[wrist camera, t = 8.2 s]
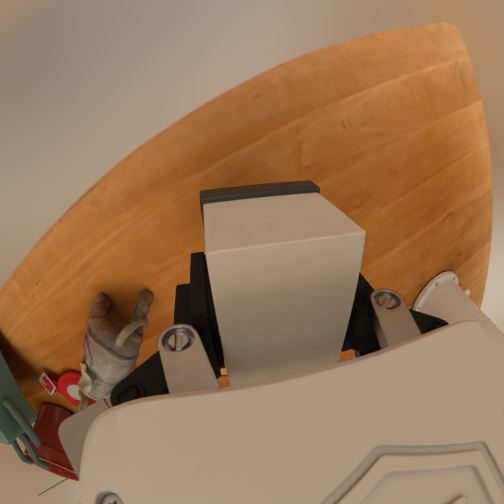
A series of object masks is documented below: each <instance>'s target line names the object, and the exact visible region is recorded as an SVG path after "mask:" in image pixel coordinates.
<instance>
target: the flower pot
mask: <svg viewBox="0 0 504 504" xmlns="http://www.w3.org/2000/svg"><path fill="white" fill-rule="evenodd" d="M72 415H74V414H71V413H69V412H68V410H67V409H64V408H62V407H59V406H57V405H53V404H44V405H43V406H41V408H40V411H39V414H38V417H37V420H36V422H35V425H34V428H33V429H34V430H35V432H36V434H37V436H38V438H39V440H40V443H41V445H40V446H38V448H37V447H36V446H35V444H34V443H33V442H32V440H31V439H30V440H29V441H30V443H31V445H32V446H33V448H34V450H35V452H36V454H37V455H38V457H39V459H40V460H42V461H44V462H45V463H47V464H48V465H49V466H50V469H45V470H47V471H49V472H51V473H54V474H56V475H59V476H62V477H65V478H69V479H72V480H76V481H79V479H78V477H77V475H76V473H75V471H74V469H73V467H72V465H71V463H70V461H69V459H68V457H67V455H66V453H65V451H64V448H63V446H62V444H61V441H60V439H59V435H58V430H59V426H60V424H61V423H62V422H63V421H64V420H65V419H66V418H68V417H70V416H72ZM23 454H24V455H25V456H27V457H28V458H30V459H31V460H32V461H33V464H35V465H37V464H36V463H35V462H34V460H33V459H32V457H31V456H30V454H29V452H28V451H27V449H25V452H23ZM37 466H38V465H37Z"/></svg>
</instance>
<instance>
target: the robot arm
mask: <svg viewBox="0 0 504 504" xmlns="http://www.w3.org/2000/svg"><path fill="white" fill-rule="evenodd" d="M458 285H459V280H458V277H457V275H456V274H454V273H453V272H451V271H446V272H443V273H441V274H439V275H438V276H436V277H435V278H434V279H432V280H431V281H430V282H429V283H428V284H427V285H426V286H425V288H424V289H423V290H422V291H421V293H420V294H419V296H418V298H417V299H416V301H415V304H414V306H413V309H409V308H408V307H407V305H406V303H405V301H404V299H403V298H402V297H401V295H400V294H398V293H397V292H395V291H393V290H390V289H377V290H374V289H373V288H372V287H371V286H370V284H369V283H368V282H367V280H366V279H365V278H364V277H363V276H362V275H361V273H360V272H359V278H358V283H357V288H356V293H355V297H354V302H353V306H352V311H351V315H350V319H349V323H348V327H347V331H346V335H345V339H344V343H343V346H342V350H341V351H342V352H343V351H347V350H350V349H353V350H355V357H356V358H354V359H351V360H347V361H344V362H341V363H337V364H333V365H330V366H326V367H322V368H318V369H314V370H310V371H306V372H302V373H298V374H293V375H289V376H284V377H280V378H275V379H270V380H265V381H259V382H254V383H248V384H242V385H235V386H228V387H220V385H219V383H218V381H217V379H218V378H219V377H221V370H220V369H223V368H225V361H224V354H223V349H222V344H221V339H220V334H219V328H218V323H217V318H216V313H215V307H214V302H213V296H212V290H211V285H210V279H209V273H208V267H207V261H206V255H204V252H197V253H191V267H190V283H189V284H181V285H177V287H176V298H175V311H174V325H172V326H170V327H168V328H166V329H165V330H163V331H162V332H161V334H160V335H159V337H158V348H159V351H157V352H156V353H155V354H154V355H152V356H151V357H150V358H149V359H148V360H146V361H145V362H144V363H143V364H141V365H140V366H139V367H138V368H136V369H135V370H134V371H133V372H131V373H130V374H129V375H128V376H126V377H125V378H124V379H123V380H121V381H120V382H119V383H118V384H117V385H116V386H115V387H114V388H113V390H112V392H111V395H110V398H108V399H106V400H104V399H103V398H102V399H100V400H98V401H97V402H95V403H93V404H91V405H90V406H88V407H86V408H84V409H83V410H81V411H79V412H77V413H75V414H74V415H72V416H70V417H68V418H66V419H65V420H64V421H63V422H62V423H61V424H60V426H59V430H58V435H59V439H60V441H61V444H62V446H63V448H64V451H65V453H66V455H67V457H68V459H69V461H70V463H71V465H72V467H73V469H74V471H75V473H76V475H77V477H78V479H79V504H504V334H503V333H502V332H501V331H500V330H499V329H498V328H497V327H496V325H495V324H494V323H493V322H492V321H491V320H490V319H489V318H488V317H487V316H486V315H485V314H484V313H483V312H482V311H481V310H480V309H479V308H478V306H477V305H476V304H475V303H474V302H473V301H472V300H471V299H470V298H469V297H468V296H467V295H469V294H470V290H469V289H465V290H462V289H461V288H460V287H459V286H458Z"/></svg>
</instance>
